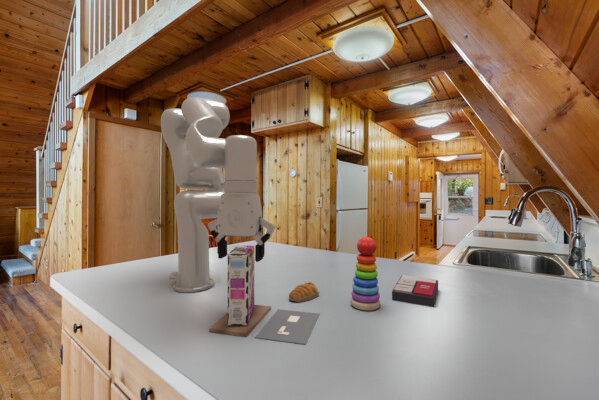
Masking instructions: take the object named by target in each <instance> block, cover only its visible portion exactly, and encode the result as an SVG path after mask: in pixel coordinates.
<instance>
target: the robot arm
mask: <svg viewBox="0 0 599 400" xmlns="http://www.w3.org/2000/svg"><path fill="white" fill-rule="evenodd" d="M230 117H231V115H230V110H229V108H228V106H227V105H226V104H225V103H224V102H221V101H218V100H215V99H214V100H213V99H209V98H203V97H200V96H199V97H198V96H191V97H188V98H186V99H185V100H183V102H182V104H181V108H175V107H174V108H167V109H165V110H164V111H163V112H162V114H161V116H160V129H161V134H162V138H163V141H165V145H166V146H167V148H168V151H169V154H170V159H171V164H172V165H171V166H172V170H173V176H174V181H175V183H176V186H177V187H178V188H180V189H186V190H183V191H180V192H178V193H177V194H176V195H175V197H174V200H173V207H174V208H173V209H174V213H175V218H176V224H177V225H176V226H177V252H178V253H177V257H178V258H177V259H178V261H177V262H178V263H177V264H178V267H177V268H178V271H172V272H171V274H170V275H169V279H170V280H175V282H174V284H173V289H174V291H176V292H178V293H196V292H201V291H206V290H208V289H210V288H212V287H214V286H215V280H214V279H213V278H210V247H209V246H210V244H209V243H210V240H209V239H210V236H209V235H210V234H211V236H212V237H213V238H214V240H215V242H216V244H217V245H216V247H217V248H216V249H217V256H218V257H217V258H218V259H219V260H220V259H221V260H222V259H223V258H225V257H228V241H227V237H239V238H252V239H254V241H255V242H256V244H255V245H254V246H255V247H254V262H257V263H259V262H260V261H263V259H264V257H265V252H266V251H265V243H267V242H268V240H270V239H271V237H272V236H273V233H274V232H275V230H276V226H275V225H274V224H272V223H270V222H269V221H268V220H266V219H264V218H263V209H262V203H261V198H260V194H257V192H258V191H257V189H258V188H257V184H258V182H257V181H258V179H257V178H258V177H257V175H258V174H257V173H258V171H257V170H258V168H257V163H258V162H257V161H258V160H257V159H258V156H257V155H258V154H257V153H258V152H257V151H258V150H257V149H258V143H257V140H256V139H255V138H254V136H253V137H252V136H250V135H243V134H237V135H235V134H234V135H233V134H232V135H230V136H229V135H228V136H227V137H226V138H223V137H220V136H221V134H222V132H223V130H225V129H226V128H227V126H228V125H229V122H230ZM223 169H224V173H223ZM206 219H212V220H211V221H210V222H208V223H207V227H208V228H207V227H206V225H205V224H204V222H202V220H206ZM263 228H265V229H266V232H265V234H264V235H263V233H262V232H263ZM208 229H209V230H208ZM209 231H210V232H209ZM209 233H210V234H209Z"/></svg>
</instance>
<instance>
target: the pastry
mask: <svg viewBox="0 0 599 400" xmlns="http://www.w3.org/2000/svg"><path fill="white" fill-rule="evenodd" d="M319 295H320V291H319V289H318V287H317V285H316V284H315V283H314V282H311V281H308V282H304V283H301V284H299V285H296V286H295V288H293V289H292V290H291V292H290V293H289V294H288V300H289V301H292V302H296V303H301V302H307V301H310V300H312V299H315V298H317V297H318V296H319Z"/></svg>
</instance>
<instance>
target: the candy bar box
mask: <svg viewBox="0 0 599 400" xmlns="http://www.w3.org/2000/svg"><path fill="white" fill-rule="evenodd" d="M255 246H256V245H236V246H235V247H234V248H233V249H231V251H230V252H229V253H227V313H228V326H248V324H249V321H250V318H251V315H252V312H253V309H254V305H255Z"/></svg>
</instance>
